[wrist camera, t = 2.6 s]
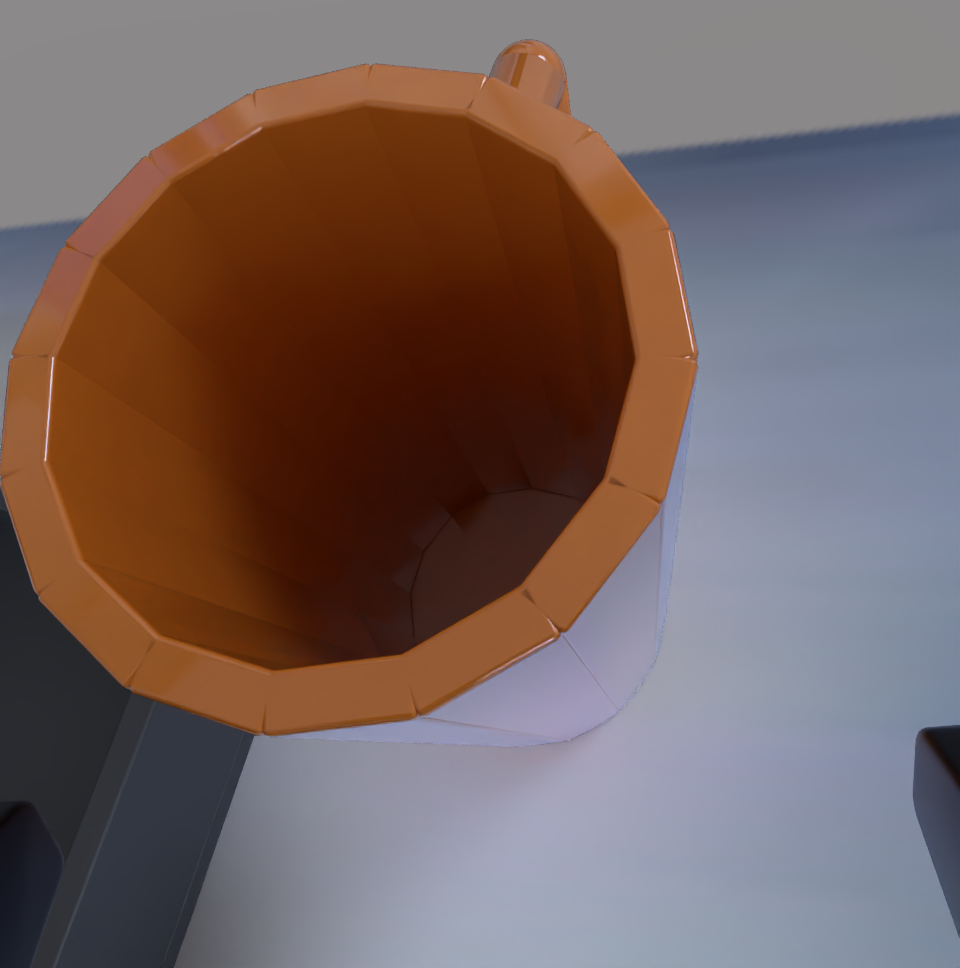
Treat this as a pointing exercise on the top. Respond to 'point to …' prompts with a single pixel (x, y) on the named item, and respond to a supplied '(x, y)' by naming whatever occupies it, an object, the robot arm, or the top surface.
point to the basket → (106, 786)
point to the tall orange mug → (364, 414)
